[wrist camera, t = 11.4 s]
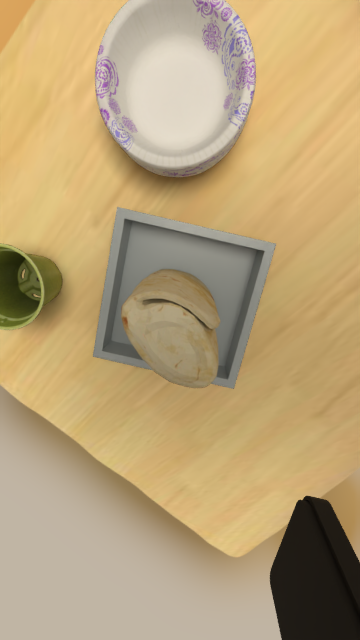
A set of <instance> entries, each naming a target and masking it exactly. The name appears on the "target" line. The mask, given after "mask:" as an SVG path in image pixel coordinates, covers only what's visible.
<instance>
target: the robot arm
mask: <svg viewBox="0 0 360 640" xmlns="http://www.w3.org/2000/svg"><path fill="white" fill-rule="evenodd" d="M270 585H271V590H272V595H273V600H274V604H275V609H276V613H277V619H278V623H279V628H280V633H281V638H282V640H360V562H359V560H358V558H357V556H356V554H355V552H354V550H353V548H352V546H351V544H350V542H349V540H348V538H347V536H346V534H345V532H344V530H343V528H342V526H341V524H340V522H339V520H338V518H337V516H336V514H335V512H334V510H333V508H332V506H331V504H330V503H329V502H328V501H327V500H324V499H320V498H315V497H311V496H305V497H304V499H303V500H298V502H297V503H296V506H295V509H294V511H293V514H292V516H291V519H290V521H289V524H288V527H287V529H286V532H285V534H284V537H283V539H282V542H281V545H280V547H279V550H278V552H277V555H276V557H275V560H274V562H273V565H272V568H271V572H270Z"/></svg>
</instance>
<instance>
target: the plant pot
mask: <svg viewBox="0 0 360 640" xmlns="http://www.w3.org/2000/svg"><path fill="white" fill-rule="evenodd" d="M23 269H25V273H24V278H23V279H22V277H21V273H22V270H23ZM37 278H39V281H37ZM61 286H62V277H61V274H60V272H59V270H58V268H57V267H56V265H55V264H54V263H53V262H52V261H51V260H49V259H48V258H45V257H42V256H37V255H32V254H26V253H24V252H23V251H21V250H19V249H18V248H15V247H13V246H10V245H7V244H2V243H0V329H1V330H14V329H19V328H22V327H24V326H26V325H28V324H29V323H31V322H32V321H33V320H34V319H35V318H36V317H37V316H38V315H39V313H40V311H41V309H42V307H43V306H44V305H45V304H47V303H48V302H49V301H51V300H52V299H53V298H55V297H56V296H57V294H58V293H59V291H60V289H61ZM32 293H34V294H36V295H39V296H41V298H38V297H34V296H33V295H32Z"/></svg>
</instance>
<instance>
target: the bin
mask: <svg viewBox="0 0 360 640" xmlns="http://www.w3.org/2000/svg"><path fill="white" fill-rule="evenodd" d="M275 246H276V244H275V243H270V242H266V241H262V240H257V239H253V238H249V237H244V236H240V235H236V234H231V233H227V232H223V231H219V230H214V229H210V228H206V227H201V226H197V225H193V224H188V223H184V222H180V221H175V220H171V219H167V218H162V217H158V216H154V215H149V214H145V213H141V212H136V211H132V210H128V209H123V208H119V207H117V212H116V218H115V224H114V230H113V236H112V242H111V248H110V255H109V261H108V267H107V273H106V279H105V285H104V291H103V297H102V304H101V310H100V316H99V322H98V328H97V334H96V340H95V346H94V353H93V357H97V358H101V359H106V360H110V361H115V362H119V363H123V364H128V365H132V366H136V367H141V368H145V369H150V370H152V369H151V367H150V366H149V365H148V364H147V363H146V362H145V361H144V360H143V359H142V358H141V356H140V355H139V354H138V352H137V351H136V349H135V348H134V346H133V345H132V344H131V342H130V340H129V338H128V336H127V334H126V332H125V330H124V327H123V323H122V319H121V307H122V305H123V304H124V302H125V301H126V300H127V298H128V297H129V296H130V295H131V294H132V292H133V290H134V289H135V287H136V286H137V285H138V284H139V283H140V282H141V281H142V280H143V279H144V278H146V277H148V276H149V275H150V274H152V273H154V272H156V271H158V270H160V269H175V270H179V271H183V272H187V273H190V274H192V275H193V276H195V277H197V278H198V279H199V280H200V281H202V282H203V283H204V284H205V285H206V287H207V288H208V289H209V291H210V292H211V294H212V297H213V299H214V301H215V305H216V308H217V312H218V316H219V318H220V321H221V322H220V324H219V326H218V327H217V328H215V330H216V336H217V342H218V371H217V376H216V378H215V379H214V381H213V382H212V383H211V384H215V385H219V386H224V387H228V388H233V389H234V386H235V383H236V380H237V376H238V373H239V369H240V366H241V362H242V359H243V356H244V352H245V349H246V345H247V342H248V339H249V335H250V332H251V328H252V325H253V321H254V318H255V315H256V311H257V308H258V304H259V301H260V298H261V294H262V291H263V287H264V284H265V280H266V277H267V274H268V270H269V267H270V263H271V260H272V257H273V253H274V250H275Z"/></svg>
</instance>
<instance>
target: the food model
mask: <svg viewBox="0 0 360 640" xmlns="http://www.w3.org/2000/svg"><path fill="white" fill-rule="evenodd" d="M121 319H122V323H123V327H124V330H125V332H126V334H127V336H128V338H129V340H130V342H131V344H132V345H133V346H134V348H135V349H136V351H137V352H138V354H139V355H140V356H141V358H142V359H143V360H144V361H145V362H146V363H147V364H148V365H149V366H150V367H151V369H152V370H153V371H154V372H156V373H157V374H159V375H160V376H162V377H163V378H165V379H166V380H168V381H169V382H172V383H175V384H178V385H182V386H185V387H191V388H203V387H206V386H208V385H210V384H211V383H212V382H213V381H214V379H215V378H216V376H217V371H218V342H217V336H216V330H215V328H217V327H218V326H219V324H220V322H221V321H220V318H219V316H218V312H217V308H216V305H215V301H214V299H213V297H212V294H211V292H210V291H209V289H208V288H207V287H206V285H205V284H204V283H203V282H202V281H200V280H199V279H198V278H197V277H195V276H193V275H192V274H190V273H187V272H183V271H179V270H175V269H160V270H158V271H156V272H154V273H152V274H150V275H149V276H148V277H146V278H144V279H143V280H142V281H141V282H140V283H139V284H138V285H137V286H136V287H135V289H134V290H133V292H132V294H131V295H130V296H129V297H128V298H127V300H126V301H125V302H124V304H123V305H122V307H121Z"/></svg>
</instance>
